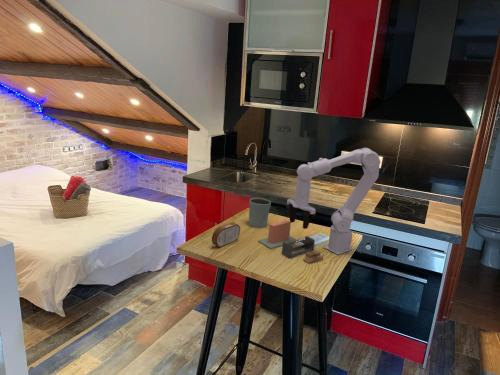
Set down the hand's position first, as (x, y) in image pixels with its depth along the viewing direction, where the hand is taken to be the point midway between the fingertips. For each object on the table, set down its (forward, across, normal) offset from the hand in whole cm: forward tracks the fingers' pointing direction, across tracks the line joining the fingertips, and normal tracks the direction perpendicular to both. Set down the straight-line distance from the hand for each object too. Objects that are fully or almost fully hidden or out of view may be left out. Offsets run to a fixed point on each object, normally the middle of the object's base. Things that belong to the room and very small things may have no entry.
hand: (298, 225), depth 155 cm
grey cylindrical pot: (+10, -27, +1) cm, 29 cm away
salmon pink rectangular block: (+9, -7, -4) cm, 12 cm away
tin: (+10, -16, -25) cm, 31 cm away
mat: (+9, -7, -4) cm, 12 cm away
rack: (+9, +5, -4) cm, 11 cm away
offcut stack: (+10, +13, -4) cm, 17 cm away
